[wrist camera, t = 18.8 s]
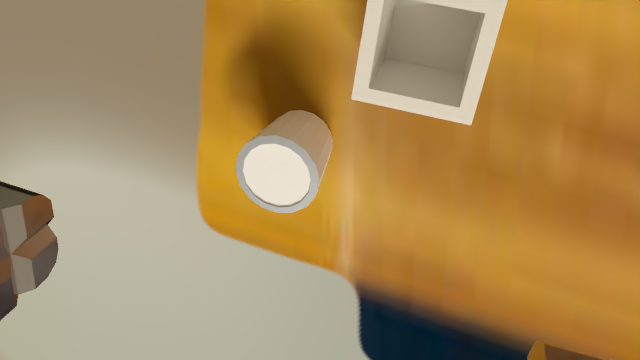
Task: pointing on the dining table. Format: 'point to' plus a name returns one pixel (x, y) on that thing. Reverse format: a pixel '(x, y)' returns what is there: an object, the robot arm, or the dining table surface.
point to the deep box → (427, 55)
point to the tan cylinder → (285, 162)
